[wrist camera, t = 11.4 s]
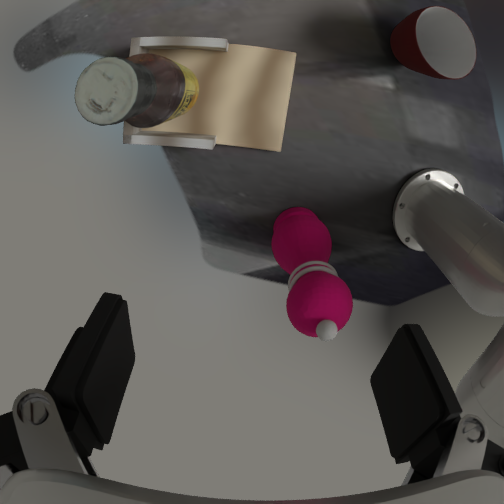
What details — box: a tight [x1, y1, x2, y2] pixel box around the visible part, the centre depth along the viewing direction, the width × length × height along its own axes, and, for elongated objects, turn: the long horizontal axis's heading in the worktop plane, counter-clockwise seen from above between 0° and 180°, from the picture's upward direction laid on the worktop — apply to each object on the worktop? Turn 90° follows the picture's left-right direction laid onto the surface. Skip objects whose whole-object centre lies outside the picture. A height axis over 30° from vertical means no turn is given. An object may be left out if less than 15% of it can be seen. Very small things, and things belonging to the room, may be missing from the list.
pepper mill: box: [271, 207, 353, 341], centre depth 32 cm, size 7×7×20 cm
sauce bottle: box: [75, 53, 199, 128], centre depth 22 cm, size 6×6×20 cm
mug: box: [390, 6, 476, 79], centre depth 24 cm, size 11×8×10 cm
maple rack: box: [123, 37, 296, 152], centre depth 30 cm, size 18×12×5 cm, turn 82°
